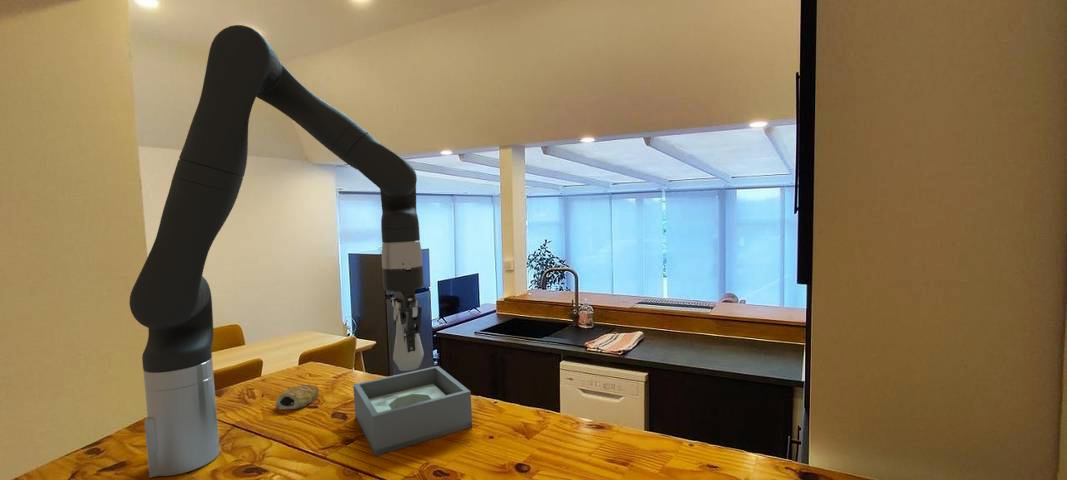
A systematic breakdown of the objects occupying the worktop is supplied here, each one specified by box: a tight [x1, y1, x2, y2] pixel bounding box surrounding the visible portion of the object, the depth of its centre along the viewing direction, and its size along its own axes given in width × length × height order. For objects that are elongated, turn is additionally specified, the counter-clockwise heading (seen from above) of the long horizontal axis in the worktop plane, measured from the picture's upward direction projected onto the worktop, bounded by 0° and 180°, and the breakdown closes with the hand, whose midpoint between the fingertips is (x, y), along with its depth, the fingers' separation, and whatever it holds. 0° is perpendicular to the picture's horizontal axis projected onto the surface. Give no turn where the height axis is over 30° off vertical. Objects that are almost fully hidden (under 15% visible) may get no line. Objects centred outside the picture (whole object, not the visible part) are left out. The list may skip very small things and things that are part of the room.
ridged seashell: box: [274, 384, 320, 410], centre depth 102 cm, size 9×7×4 cm
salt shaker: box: [392, 305, 425, 372], centre depth 89 cm, size 6×6×13 cm
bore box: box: [352, 365, 473, 457], centre depth 90 cm, size 18×18×7 cm
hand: (407, 351), depth 89 cm, fingers closed on salt shaker, 3 cm apart
